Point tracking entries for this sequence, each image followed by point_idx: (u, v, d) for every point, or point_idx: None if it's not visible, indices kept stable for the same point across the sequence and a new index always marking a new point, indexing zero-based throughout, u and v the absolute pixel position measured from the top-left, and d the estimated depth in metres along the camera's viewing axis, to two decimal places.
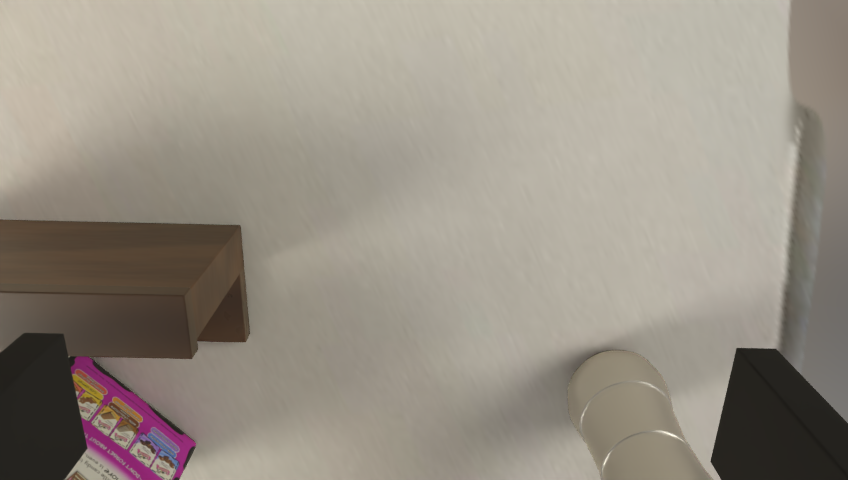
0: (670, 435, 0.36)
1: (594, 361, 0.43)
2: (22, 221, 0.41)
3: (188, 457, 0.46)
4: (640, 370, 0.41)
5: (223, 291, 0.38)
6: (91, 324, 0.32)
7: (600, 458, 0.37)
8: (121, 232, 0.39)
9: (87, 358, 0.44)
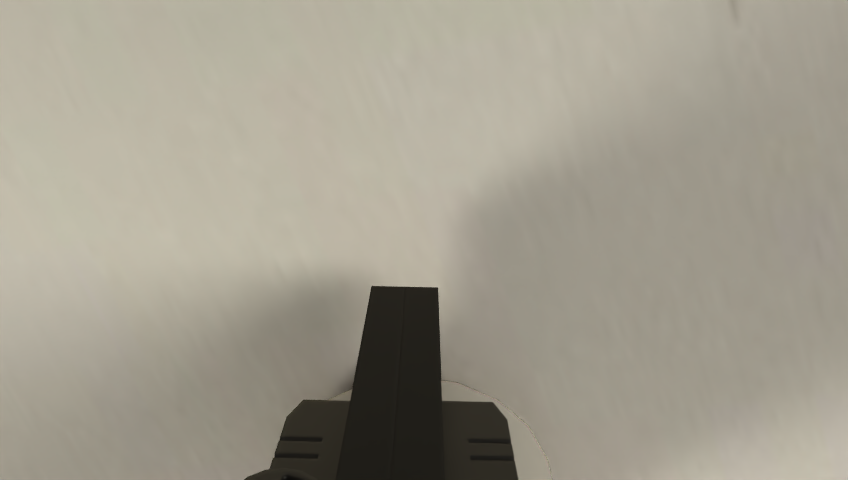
0: None
1: None
2: None
3: None
4: None
5: None
6: None
7: None
8: None
9: None
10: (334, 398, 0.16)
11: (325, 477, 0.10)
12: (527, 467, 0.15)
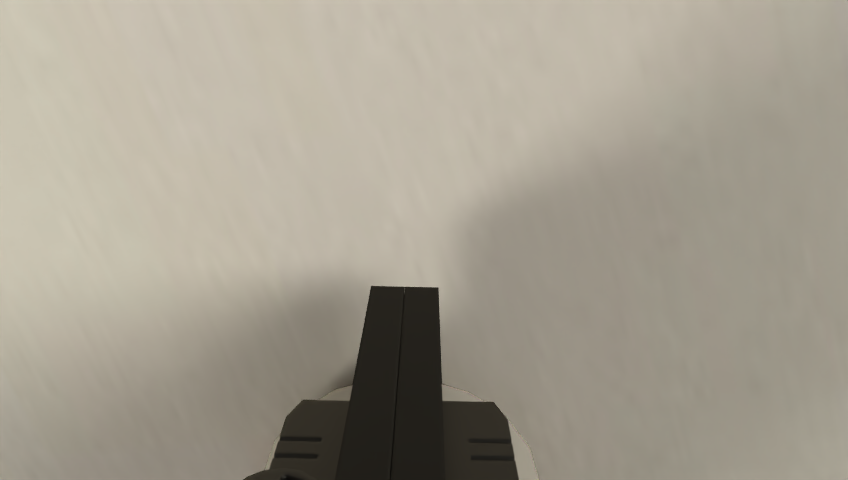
0: None
1: None
2: None
3: None
4: None
5: None
6: None
7: None
8: None
9: None
10: (345, 388, 0.16)
11: (324, 476, 0.10)
12: None
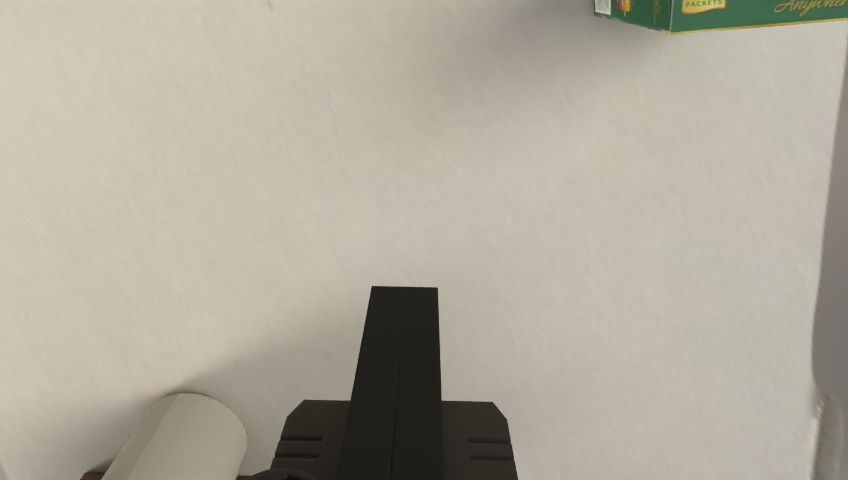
0: None
1: None
2: None
3: None
4: None
5: None
6: None
7: None
8: None
9: None
10: (166, 397, 0.43)
11: (325, 477, 0.10)
12: (227, 432, 0.42)
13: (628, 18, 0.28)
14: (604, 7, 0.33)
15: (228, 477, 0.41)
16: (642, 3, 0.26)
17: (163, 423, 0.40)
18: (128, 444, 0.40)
